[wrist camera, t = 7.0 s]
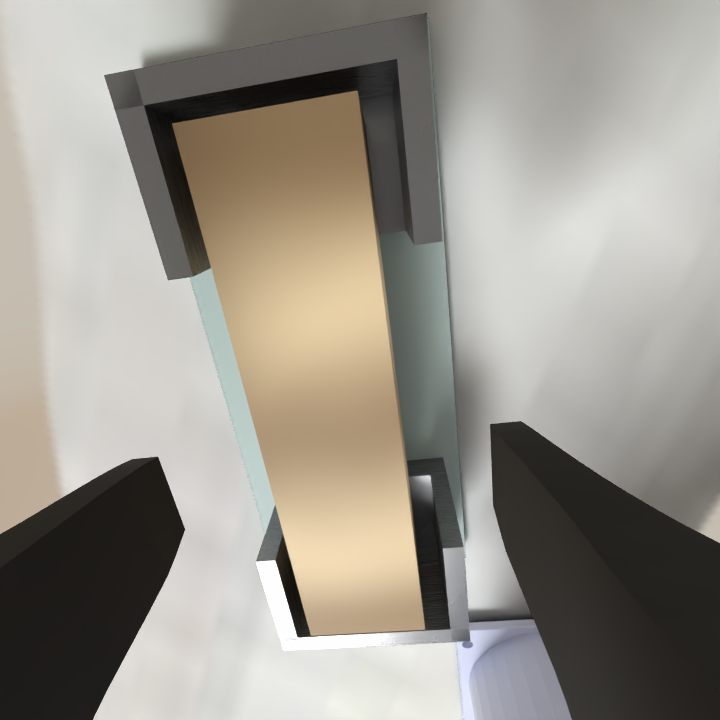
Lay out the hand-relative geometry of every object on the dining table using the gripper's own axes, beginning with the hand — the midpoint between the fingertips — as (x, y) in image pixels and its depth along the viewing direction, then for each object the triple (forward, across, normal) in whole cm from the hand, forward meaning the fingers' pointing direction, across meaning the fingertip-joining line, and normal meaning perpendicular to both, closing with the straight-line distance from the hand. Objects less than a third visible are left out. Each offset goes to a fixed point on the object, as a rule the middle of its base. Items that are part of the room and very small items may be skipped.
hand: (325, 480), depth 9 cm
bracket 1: (+7, 0, -6) cm, 9 cm away
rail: (+5, 0, 0) cm, 5 cm away
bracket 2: (+7, 0, +6) cm, 9 cm away
